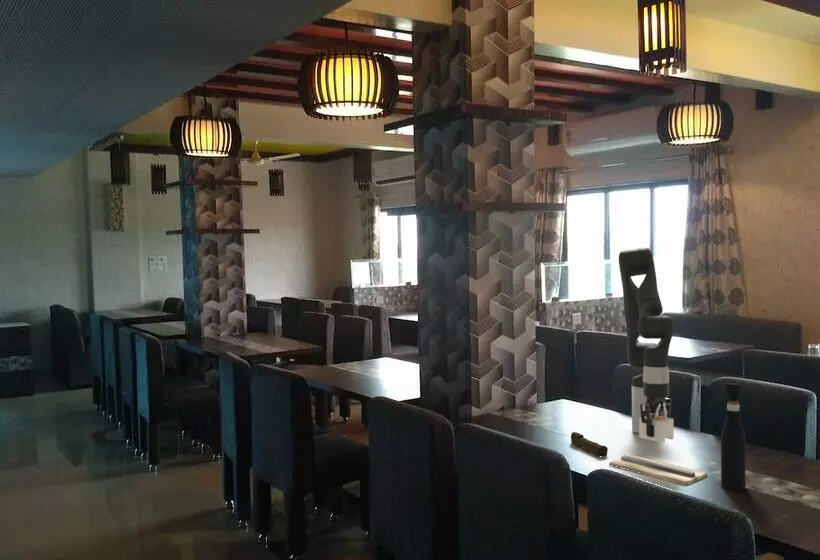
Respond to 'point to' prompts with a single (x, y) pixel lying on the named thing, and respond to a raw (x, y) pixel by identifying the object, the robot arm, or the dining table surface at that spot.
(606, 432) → the dining table surface
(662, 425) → the block
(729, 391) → the wine bottle
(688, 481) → the rail board
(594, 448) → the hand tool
